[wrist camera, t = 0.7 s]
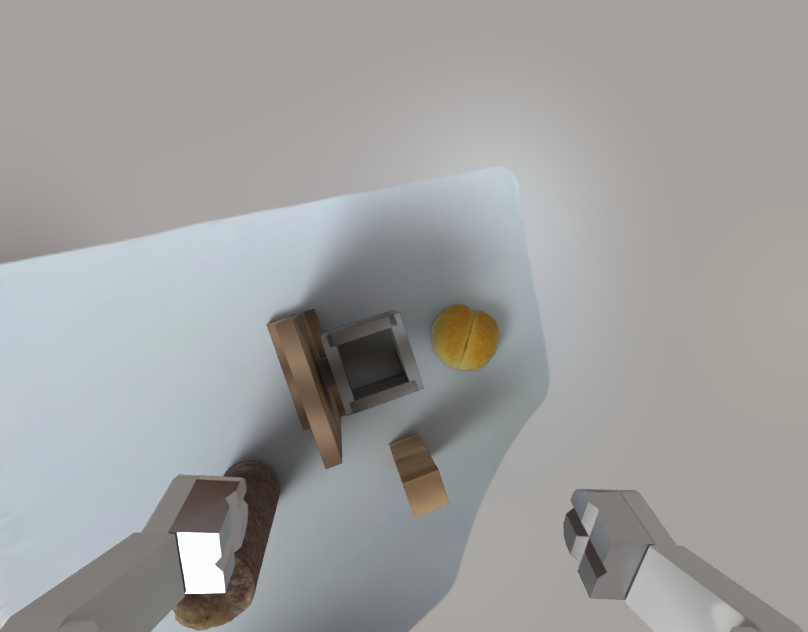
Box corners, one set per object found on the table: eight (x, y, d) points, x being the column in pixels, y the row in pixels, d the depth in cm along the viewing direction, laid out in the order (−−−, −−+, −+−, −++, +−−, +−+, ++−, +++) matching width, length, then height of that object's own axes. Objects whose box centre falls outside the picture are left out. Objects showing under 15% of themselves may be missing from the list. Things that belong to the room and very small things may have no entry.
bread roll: (440, 297, 57) (448, 297, 54) (500, 319, 59) (512, 321, 55) (419, 356, 57) (425, 360, 54) (480, 376, 59) (491, 382, 55)
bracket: (412, 388, 57) (441, 425, 41) (304, 427, 55) (291, 481, 39) (379, 287, 56) (397, 285, 40) (267, 323, 54) (239, 336, 38)
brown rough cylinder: (280, 454, 55) (249, 545, 35) (285, 510, 56) (258, 630, 36) (217, 463, 54) (148, 561, 34) (223, 519, 54) (159, 649, 35)
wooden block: (426, 460, 58) (449, 503, 46) (398, 471, 58) (414, 517, 46) (417, 433, 58) (438, 469, 46) (389, 443, 57) (403, 483, 45)
